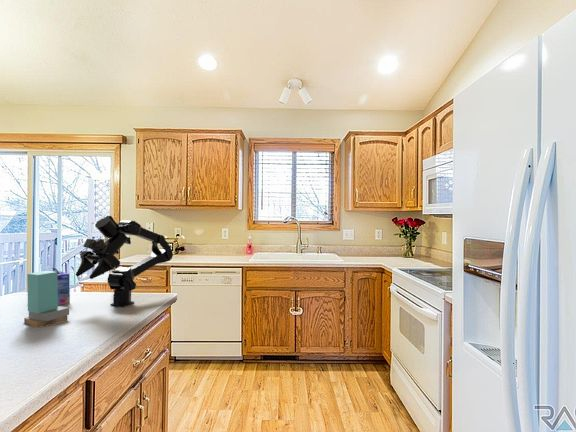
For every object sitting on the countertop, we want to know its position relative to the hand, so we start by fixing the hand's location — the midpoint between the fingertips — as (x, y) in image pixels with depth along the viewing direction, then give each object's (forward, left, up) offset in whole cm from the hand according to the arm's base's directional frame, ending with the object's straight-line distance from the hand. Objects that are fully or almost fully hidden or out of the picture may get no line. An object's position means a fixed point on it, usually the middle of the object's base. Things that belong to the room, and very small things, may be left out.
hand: (83, 276), depth 123 cm
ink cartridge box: (-10, -23, -14) cm, 28 cm away
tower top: (+11, -3, -12) cm, 16 cm away
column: (+12, -4, -9) cm, 16 cm away
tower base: (+11, -4, -14) cm, 19 cm away
